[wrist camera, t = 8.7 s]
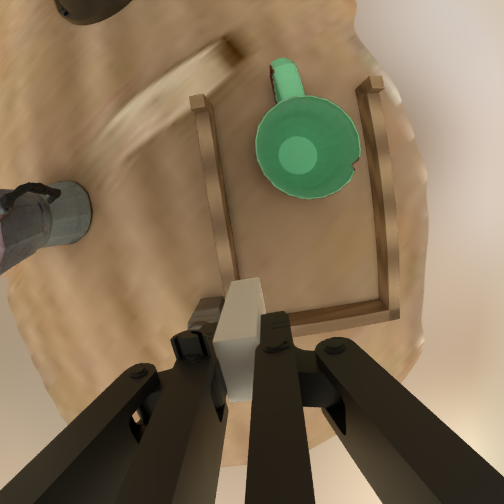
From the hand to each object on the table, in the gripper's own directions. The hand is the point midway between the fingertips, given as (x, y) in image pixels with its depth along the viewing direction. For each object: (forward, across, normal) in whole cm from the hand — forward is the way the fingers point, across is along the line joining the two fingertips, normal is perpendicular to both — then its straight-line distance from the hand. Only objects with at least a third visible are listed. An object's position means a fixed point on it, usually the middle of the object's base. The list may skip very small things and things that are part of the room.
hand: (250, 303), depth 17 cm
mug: (+24, +6, +11) cm, 27 cm away
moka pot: (+24, -26, +8) cm, 36 cm away
